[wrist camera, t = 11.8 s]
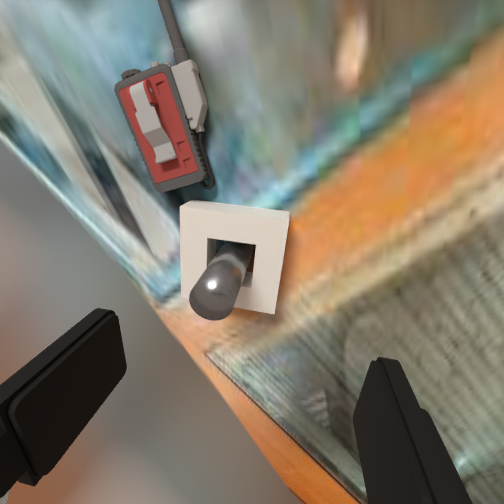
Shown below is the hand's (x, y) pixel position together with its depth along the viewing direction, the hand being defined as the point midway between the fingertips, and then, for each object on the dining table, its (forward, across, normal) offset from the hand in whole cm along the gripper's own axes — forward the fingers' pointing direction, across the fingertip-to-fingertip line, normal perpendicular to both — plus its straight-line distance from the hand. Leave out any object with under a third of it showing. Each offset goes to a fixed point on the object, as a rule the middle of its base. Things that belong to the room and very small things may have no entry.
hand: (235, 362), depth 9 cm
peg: (+23, +5, +6) cm, 24 cm away
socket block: (+23, +5, +6) cm, 24 cm away
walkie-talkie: (+24, +14, -11) cm, 29 cm away
